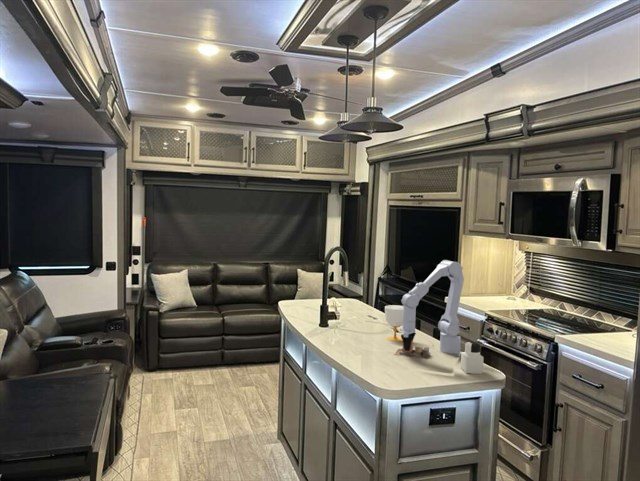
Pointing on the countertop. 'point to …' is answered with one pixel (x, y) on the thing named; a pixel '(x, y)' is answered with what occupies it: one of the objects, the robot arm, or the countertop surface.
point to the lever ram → (410, 348)
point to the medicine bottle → (472, 359)
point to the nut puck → (419, 350)
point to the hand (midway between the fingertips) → (407, 349)
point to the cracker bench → (424, 356)
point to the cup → (394, 318)
